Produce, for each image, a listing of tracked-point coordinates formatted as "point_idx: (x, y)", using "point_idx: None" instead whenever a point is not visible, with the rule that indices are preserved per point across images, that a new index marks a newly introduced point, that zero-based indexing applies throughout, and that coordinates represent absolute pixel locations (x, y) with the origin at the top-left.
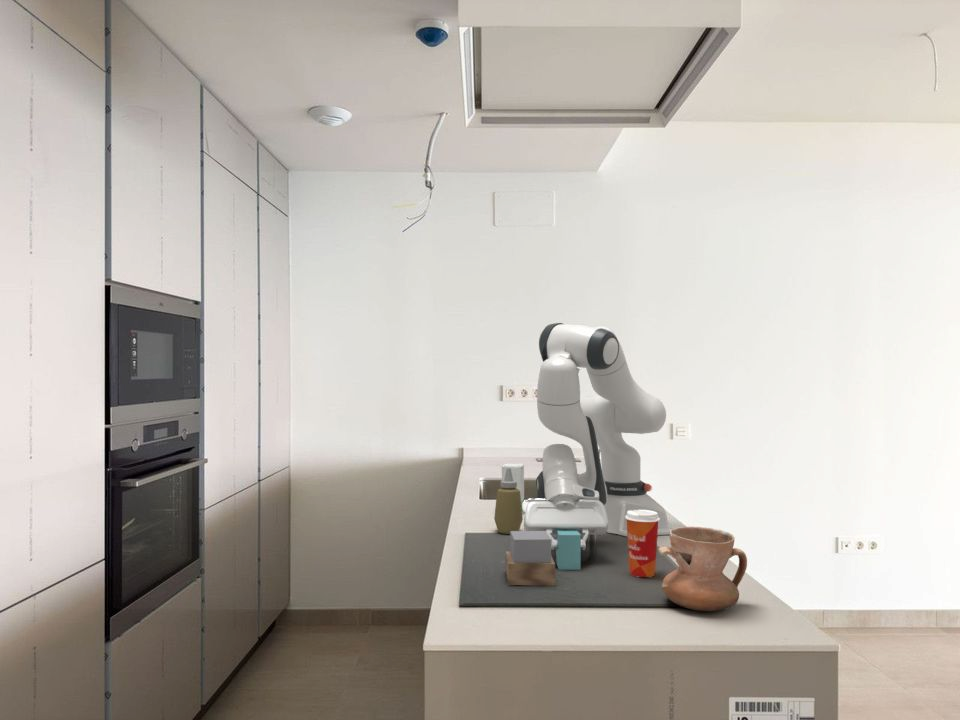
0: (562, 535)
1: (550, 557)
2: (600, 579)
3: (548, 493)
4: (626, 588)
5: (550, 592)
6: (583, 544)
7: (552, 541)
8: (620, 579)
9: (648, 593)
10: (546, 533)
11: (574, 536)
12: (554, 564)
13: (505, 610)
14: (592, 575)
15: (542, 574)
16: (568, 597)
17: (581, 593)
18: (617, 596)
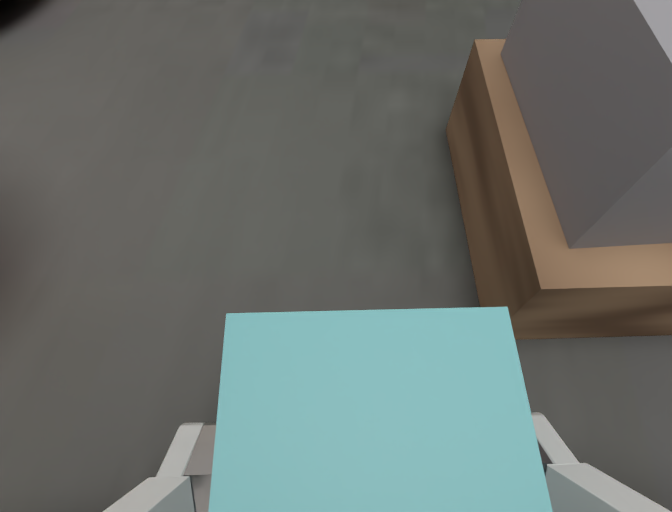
0: (462, 312)
1: (515, 23)
2: (203, 215)
3: None
4: (126, 106)
5: (462, 63)
6: (200, 427)
7: (556, 442)
8: (94, 218)
9: (62, 61)
10: (654, 21)
11: (308, 317)
12: (477, 42)
13: None
14: (227, 279)
15: None
16: (393, 24)
17: (337, 57)
18: (203, 34)
